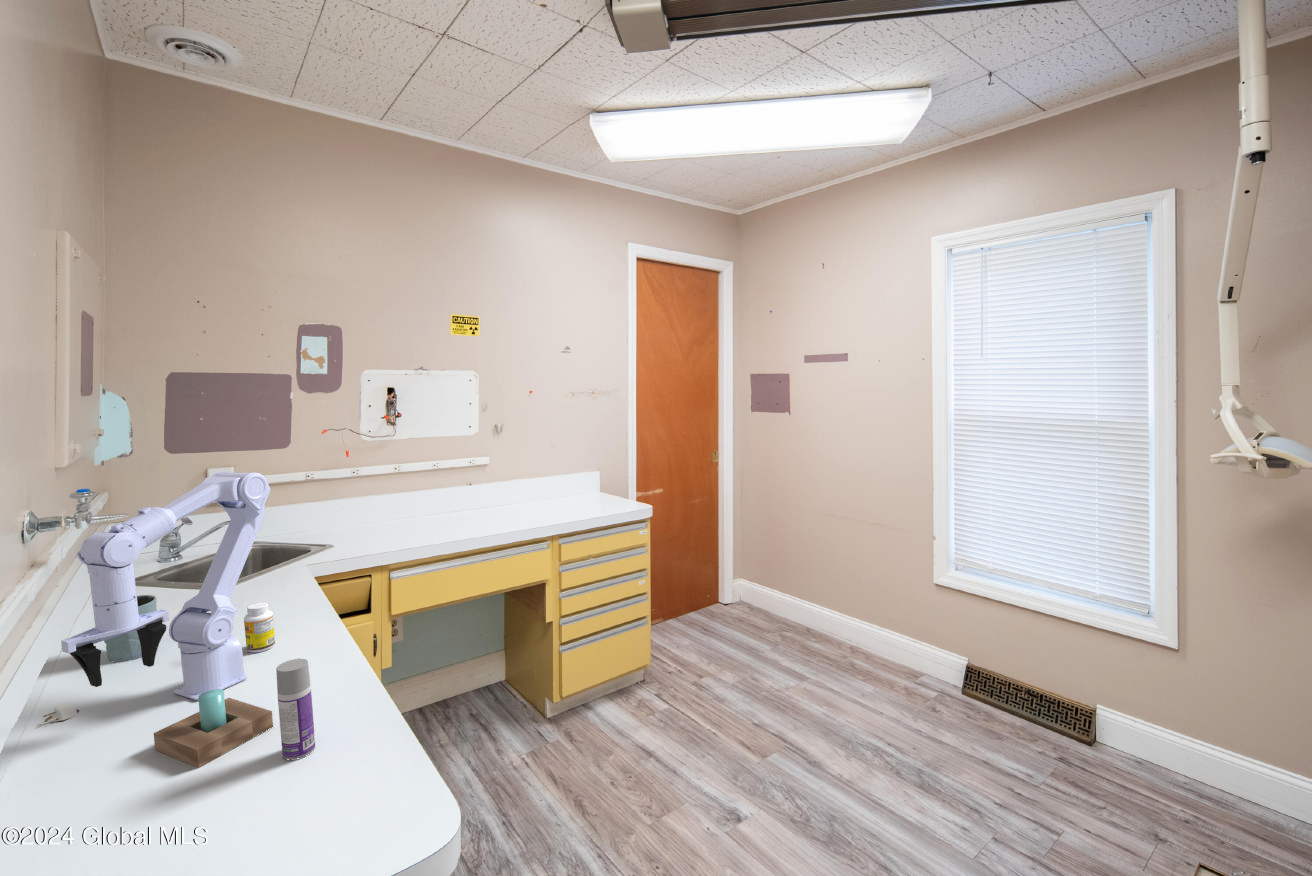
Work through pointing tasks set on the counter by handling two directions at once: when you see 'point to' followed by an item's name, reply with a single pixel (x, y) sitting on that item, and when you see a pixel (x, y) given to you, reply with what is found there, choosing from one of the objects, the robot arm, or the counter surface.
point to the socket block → (212, 733)
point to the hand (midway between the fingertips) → (123, 674)
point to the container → (295, 709)
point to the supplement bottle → (259, 628)
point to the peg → (212, 710)
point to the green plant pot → (130, 635)
